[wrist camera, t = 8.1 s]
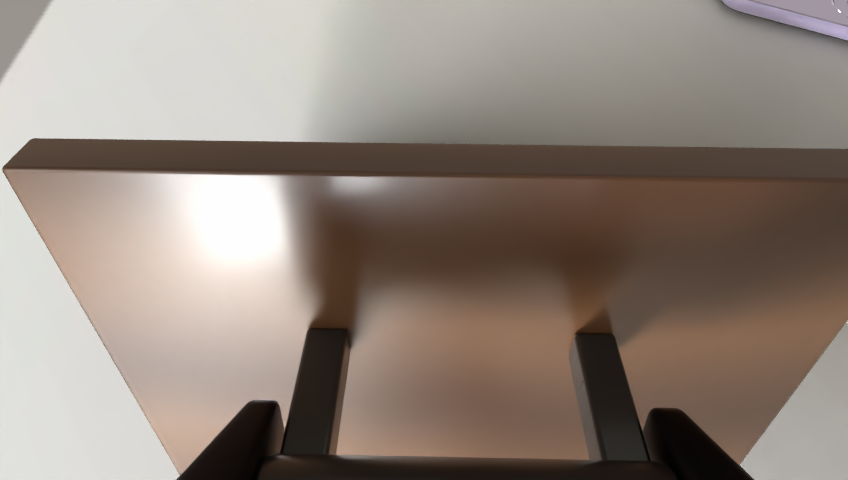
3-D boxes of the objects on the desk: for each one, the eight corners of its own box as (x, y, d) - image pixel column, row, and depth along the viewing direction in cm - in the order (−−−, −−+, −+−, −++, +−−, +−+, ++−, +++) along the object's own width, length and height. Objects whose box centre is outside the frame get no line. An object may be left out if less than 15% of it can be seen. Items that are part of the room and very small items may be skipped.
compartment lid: (30, 136, 8) (-262, 426, 5) (916, 147, 8) (1269, 455, 5) (208, 478, 15) (140, 698, 12) (688, 488, 15) (763, 714, 12)
